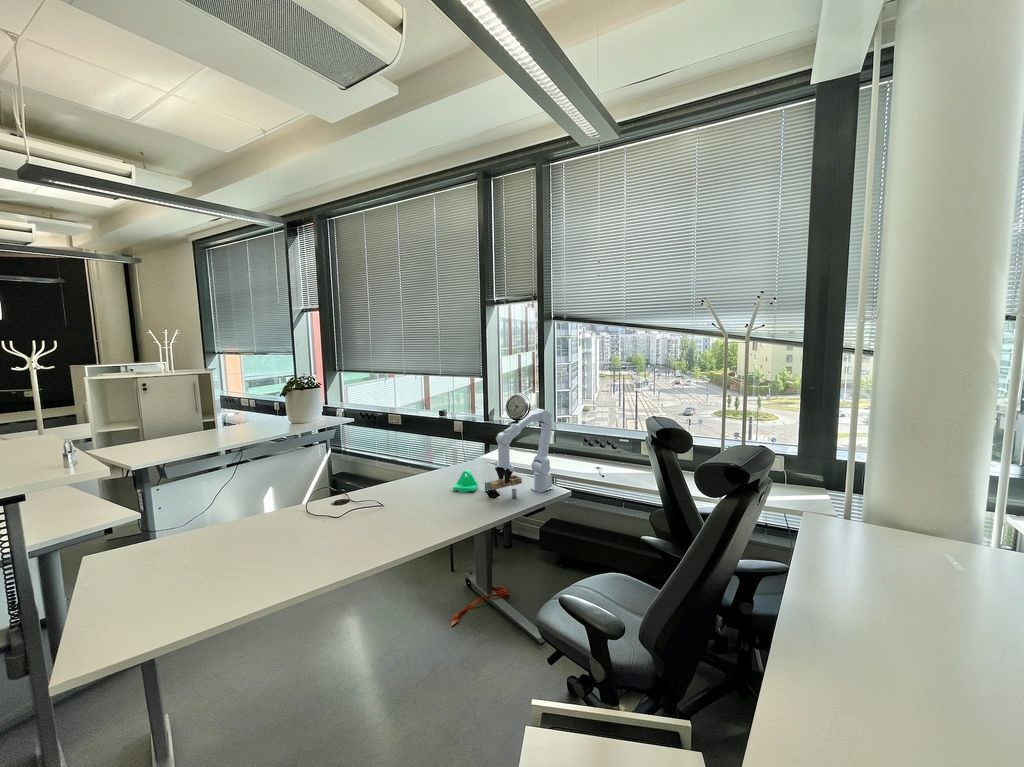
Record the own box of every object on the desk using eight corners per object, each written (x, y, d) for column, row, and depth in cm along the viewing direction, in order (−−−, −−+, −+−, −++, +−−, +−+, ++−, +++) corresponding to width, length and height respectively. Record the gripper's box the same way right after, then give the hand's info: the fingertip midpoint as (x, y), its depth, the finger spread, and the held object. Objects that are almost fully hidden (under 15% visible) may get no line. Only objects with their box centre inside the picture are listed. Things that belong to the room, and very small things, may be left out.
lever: (514, 480, 237) (513, 474, 237) (521, 483, 232) (521, 477, 232) (487, 487, 227) (487, 481, 227) (495, 490, 222) (494, 484, 222)
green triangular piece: (452, 491, 241) (452, 473, 240) (457, 487, 248) (456, 469, 247) (473, 493, 238) (473, 474, 237) (478, 488, 245) (477, 470, 244)
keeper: (484, 491, 240) (484, 481, 240) (491, 488, 244) (491, 479, 243) (494, 494, 235) (494, 484, 235) (501, 491, 239) (501, 482, 239)
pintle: (514, 496, 231) (514, 488, 231) (517, 498, 230) (517, 489, 229) (511, 497, 230) (510, 489, 229) (513, 499, 228) (513, 490, 228)
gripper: (489, 454, 231) (489, 480, 232) (506, 460, 220) (506, 487, 221) (500, 452, 235) (500, 477, 237) (517, 457, 224) (517, 484, 225)
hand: (504, 481), depth 229 cm, fingers closed on lever, 4 cm apart
